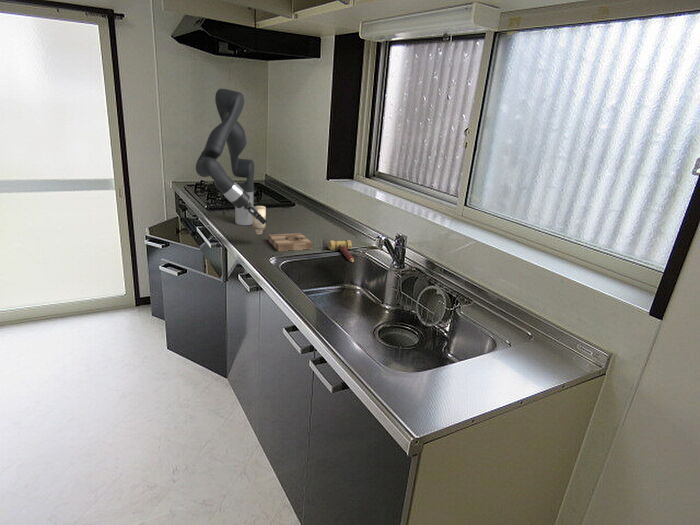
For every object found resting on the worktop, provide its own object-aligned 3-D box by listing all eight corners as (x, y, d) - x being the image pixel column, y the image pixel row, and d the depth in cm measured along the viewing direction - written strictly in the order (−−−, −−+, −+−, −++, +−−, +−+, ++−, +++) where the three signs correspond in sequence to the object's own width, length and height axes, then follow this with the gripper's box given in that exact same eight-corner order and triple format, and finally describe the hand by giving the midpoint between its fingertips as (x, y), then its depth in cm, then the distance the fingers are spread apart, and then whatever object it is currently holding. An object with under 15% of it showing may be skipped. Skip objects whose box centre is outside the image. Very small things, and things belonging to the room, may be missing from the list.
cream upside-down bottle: (251, 231, 202) (251, 205, 198) (263, 231, 205) (264, 205, 201) (254, 235, 198) (254, 209, 194) (266, 234, 200) (267, 208, 196)
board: (268, 240, 211) (268, 234, 210) (300, 239, 217) (300, 233, 216) (278, 251, 197) (278, 245, 196) (312, 249, 204) (312, 243, 203)
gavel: (364, 256, 192) (342, 257, 188) (363, 266, 193) (341, 266, 190) (349, 238, 210) (328, 239, 206) (348, 247, 211) (327, 248, 208)
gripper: (246, 192, 185) (273, 219, 194) (238, 185, 197) (264, 210, 206) (233, 205, 185) (261, 231, 194) (226, 197, 197) (253, 222, 206)
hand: (263, 220), depth 200 cm, fingers closed on cream upside-down bottle, 5 cm apart
